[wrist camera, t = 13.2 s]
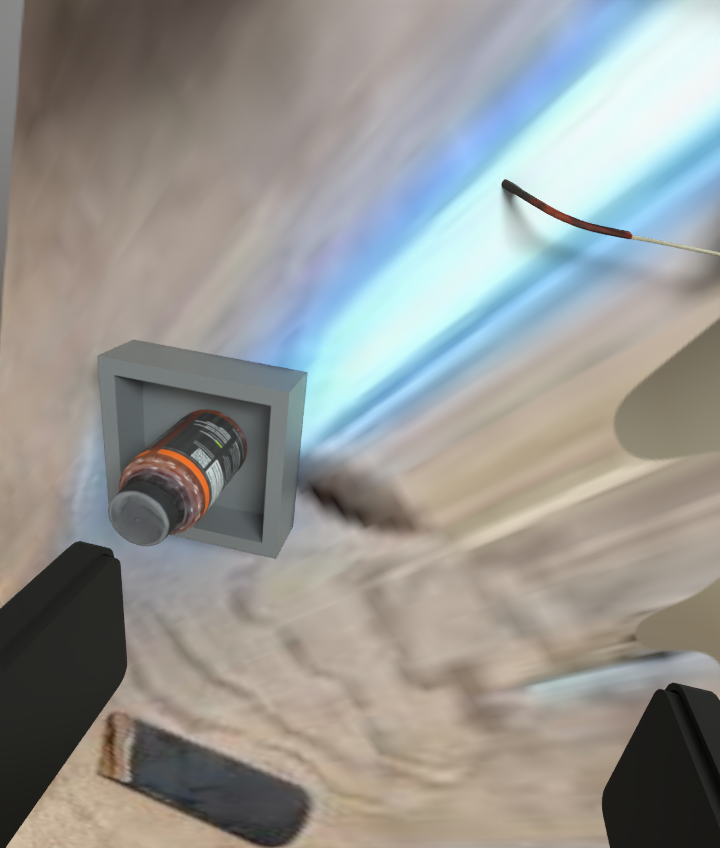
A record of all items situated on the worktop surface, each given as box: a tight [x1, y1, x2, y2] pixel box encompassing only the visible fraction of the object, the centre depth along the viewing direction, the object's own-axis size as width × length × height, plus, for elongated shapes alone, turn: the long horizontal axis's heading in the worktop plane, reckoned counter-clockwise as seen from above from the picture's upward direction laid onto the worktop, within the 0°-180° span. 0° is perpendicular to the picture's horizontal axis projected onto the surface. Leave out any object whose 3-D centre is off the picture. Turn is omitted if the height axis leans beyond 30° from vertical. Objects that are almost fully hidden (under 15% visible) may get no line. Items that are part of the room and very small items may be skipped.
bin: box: [97, 340, 307, 559], centre depth 42 cm, size 14×14×4 cm
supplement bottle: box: [108, 409, 247, 546], centre depth 38 cm, size 6×6×11 cm
